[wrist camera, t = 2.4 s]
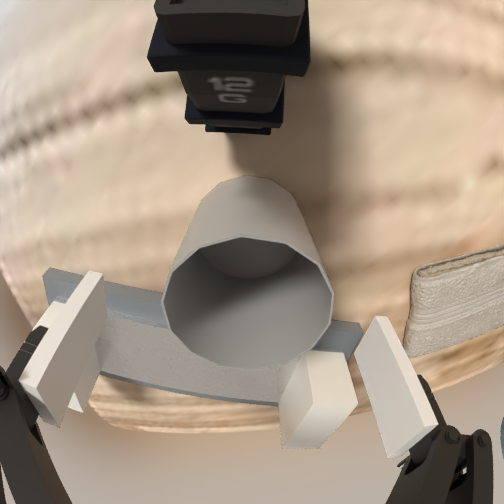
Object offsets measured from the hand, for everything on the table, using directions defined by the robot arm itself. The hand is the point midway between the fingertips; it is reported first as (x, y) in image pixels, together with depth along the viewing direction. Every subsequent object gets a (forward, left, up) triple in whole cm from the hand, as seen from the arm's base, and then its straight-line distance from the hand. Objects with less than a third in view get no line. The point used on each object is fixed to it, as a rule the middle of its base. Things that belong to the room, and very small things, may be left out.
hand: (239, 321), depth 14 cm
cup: (0, 0, -11) cm, 11 cm away
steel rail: (+3, +14, -9) cm, 17 cm away
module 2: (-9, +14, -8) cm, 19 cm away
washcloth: (-26, +2, -11) cm, 28 cm away
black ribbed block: (+3, -14, -11) cm, 18 cm away
